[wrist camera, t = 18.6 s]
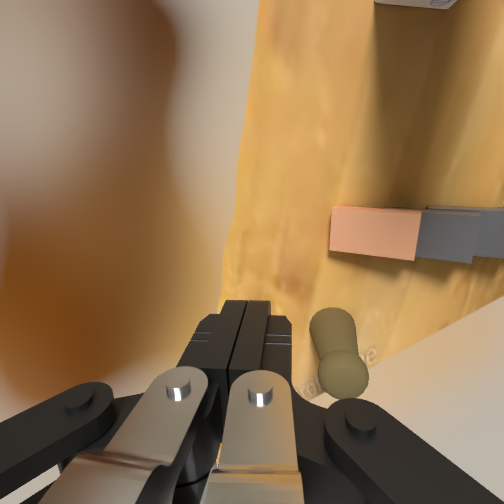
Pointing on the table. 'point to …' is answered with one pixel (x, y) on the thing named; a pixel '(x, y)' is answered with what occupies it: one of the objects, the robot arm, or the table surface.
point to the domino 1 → (375, 231)
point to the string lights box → (420, 3)
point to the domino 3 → (485, 229)
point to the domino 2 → (447, 235)
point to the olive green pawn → (338, 354)
